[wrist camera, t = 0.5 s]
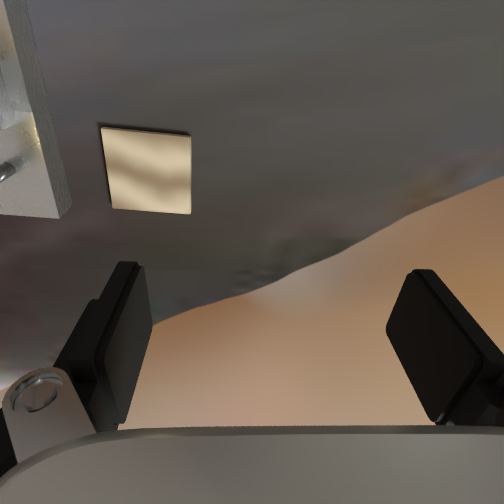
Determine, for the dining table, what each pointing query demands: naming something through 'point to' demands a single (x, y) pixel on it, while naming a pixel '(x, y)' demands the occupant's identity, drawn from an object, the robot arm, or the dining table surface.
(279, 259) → the dining table surface
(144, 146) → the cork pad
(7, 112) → the dark grey block
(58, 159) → the plane body
